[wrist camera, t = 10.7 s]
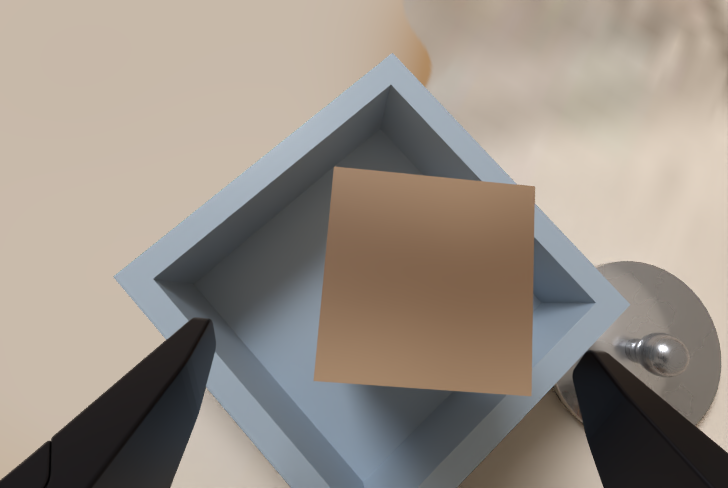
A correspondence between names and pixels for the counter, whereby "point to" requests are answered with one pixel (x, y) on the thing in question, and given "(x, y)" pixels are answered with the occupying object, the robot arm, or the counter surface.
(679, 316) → the base
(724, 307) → the counter surface
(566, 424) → the counter surface
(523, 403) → the bin
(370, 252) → the strut
